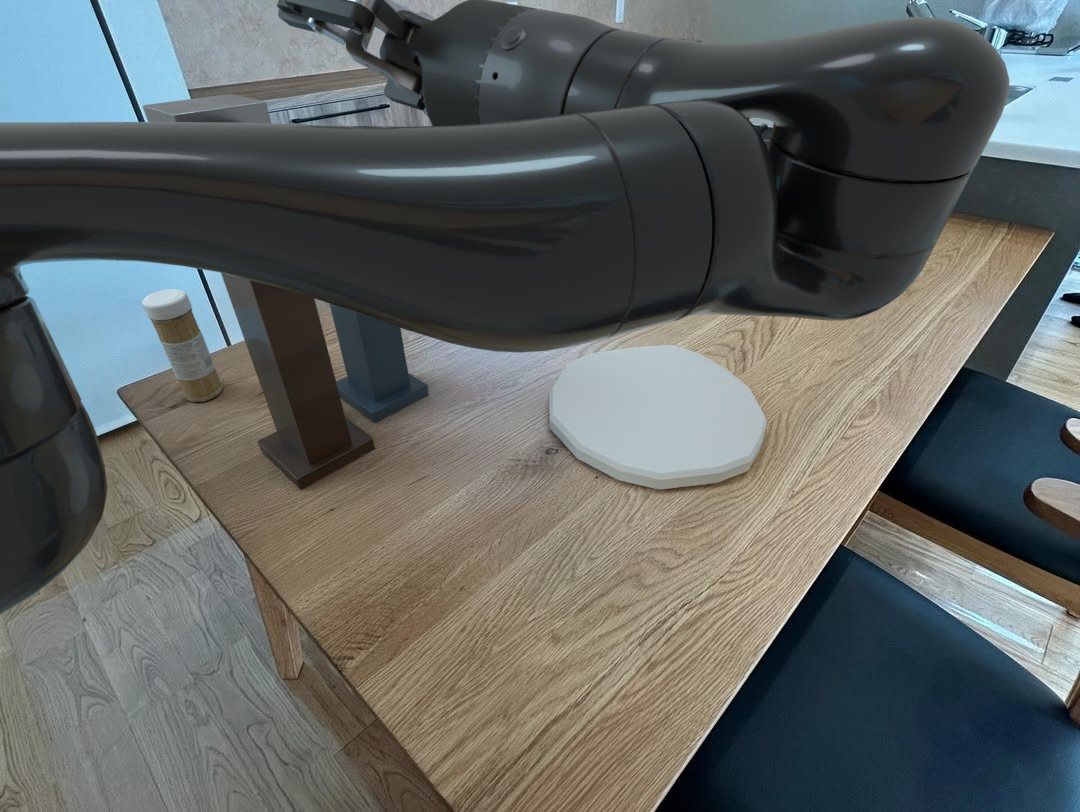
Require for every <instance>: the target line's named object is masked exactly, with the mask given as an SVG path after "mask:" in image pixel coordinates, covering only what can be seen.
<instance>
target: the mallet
mask: <svg viewBox="0 0 1080 812" xmlns="http://www.w3.org/2000/svg"><path fill="white" fill-rule="evenodd" d="M142 109H143V112H144V114H145V117H146V119H147V122H229V123H271V124H273V123H272V120H271V119H272V118H271V116H270V112H269V108H268V104H267V102H266V101H265V100H262V99H261V100H260V99H255V98H251V97H247V96H242V95H238V94H234V93H229V94H228V93H227V94H220V95H211V96H203V97H195V98H188V99H181V100H174V101H166V102H165V101H164V102H156V103H150V104H143V105H142Z"/></svg>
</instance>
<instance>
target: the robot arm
mask: <svg viewBox="0 0 1080 812" xmlns="http://www.w3.org/2000/svg"><path fill="white" fill-rule="evenodd" d="M276 7H277V9H278V12H277V15H278V16H277V17H278V18H279V19H280V20H281V21H283V22H284V23H286V24H287V25H288V26H290V27H291V28H296V29H300V30H305V31H309V32H312V33H316V34H318V35H319V36H320V35H321V36H322V35H323V36H325V37H327V38H328V39H331V40H333V41H335V42H337V43H339V44H341V45H343V46H344V47H345V50H346V51H347V53H348V54H349V56H350V57H351V59H352V60H353V61H354V62H355V63H357V64H359V65H361V66H363V67H365V68H367V69H369V70H371V71H373V72H374V73H377V74H379V75H381V76H383V77H385V78H387V82H386V84H385V86H384V90H383V94H384V96H385V97H386V98H388V99H389V100H390V101H392V102H394V103H397V104H399V105H403V106H406V107H409V108H413V109H415V110H419V111H422V113H424V115H425V116H426V117H427V118H428V119H429V121H430V123H431V125H427V126H426V125H422V126H418V125H417V126H381V125H379V126H375V125H373V126H372V125H369V126H367V125H366V126H365V125H331V124H329V125H328V124H300V123H272V122H271V123H272V124H271V123H229V122H148V121H42V122H41V121H39V122H36V121H32V122H31V121H27V122H25V121H23V122H21V121H20V122H19V121H17V122H16V121H15V122H13V121H12V122H8V121H7V122H3V121H2V122H0V615H2V614H4V613H6V612H7V611H8V610H10V609H12V608H14V607H16V606H17V605H19V604H21V603H23V602H24V601H26V600H27V599H29V598H31V597H33V596H35V594H36V593H38V592H39V591H41V590H42V589H44V588H45V587H46V586H47V585H49V584H50V583H51V582H53V581H54V580H55V579H56V578H57V577H58V576H59V575H60V574H62V573H63V572H64V571H65V570H66V569H67V568H68V567H69V566H70V564H71V563H72V562H73V561H74V560H75V559H76V558H77V557H78V556H79V554H81V552H82V551H83V550H84V549H85V548H86V547H87V545H88V544H89V542H90V541H91V539H92V537H93V535H94V534H95V532H96V529H97V528H98V526H99V525H100V523H101V520H102V519H103V515H104V510H105V507H106V500H107V496H108V483H107V482H108V481H107V474H106V473H107V472H106V466H105V462H104V456H103V453H102V449H101V445H100V441H99V439H98V434H97V431H96V429H95V427H94V425H93V422H92V420H91V417H90V415H89V412H88V411H87V409H86V407H85V405H84V404H83V402H82V398H81V395H80V393H79V392H78V390H77V387H76V385H75V382H74V380H73V378H72V376H71V375H70V372H69V370H68V368H67V366H66V364H65V361H64V360H63V357H62V355H61V354H60V353H61V352H60V351H59V348H58V346H57V345H56V343H55V340H54V339H53V336H52V334H51V332H50V330H49V328H48V326H47V324H46V322H45V319H44V317H43V315H42V313H41V311H40V309H39V307H38V305H37V303H36V301H35V298H32V297H31V296H28V295H29V294H30V288H29V286H28V283H27V282H26V280H25V278H24V276H23V273H22V271H21V267H22V266H26V265H31V264H40V263H59V262H81V261H84V262H85V261H109V262H141V263H150V264H151V263H152V264H158V265H159V264H161V265H169V266H178V267H179V266H180V267H185V268H186V267H187V268H192V269H198V270H204V271H209V272H215V273H220V274H221V273H224V274H228V275H232V276H236V277H239V278H243V279H247V280H251V281H255V282H259V283H263V284H266V285H270V286H274V287H278V288H282V289H286V290H289V291H293V292H296V293H299V294H302V295H305V296H308V297H311V298H314V299H315V300H318V301H321V302H324V303H327V304H329V303H330V304H333V305H336V306H339V307H342V308H345V309H349V310H351V311H354V312H357V313H360V314H363V315H366V316H368V317H371V318H374V319H377V320H380V321H383V322H385V323H388V324H391V325H394V326H397V327H400V328H401V329H403V330H406V331H410V332H413V333H415V334H419V335H423V336H424V337H425V336H426V337H429V338H433V339H436V340H438V341H442V342H445V343H448V344H451V345H452V344H453V345H457V346H462V347H466V348H470V349H476V350H483V351H488V352H489V351H490V352H497V353H499V352H500V353H501V352H502V353H520V354H521V353H533V352H534V353H537V352H549V351H554V350H560V349H565V348H570V347H577V346H581V345H586V344H589V343H594V342H598V341H601V340H602V341H603V340H604V339H608V338H612V337H616V336H620V335H624V334H627V333H631V332H636V331H640V330H644V329H647V328H652V327H656V326H659V325H664V324H667V323H671V322H672V323H673V322H676V321H680V320H683V319H686V318H690V317H694V316H703V315H709V316H710V315H713V316H714V315H715V316H716V315H717V316H718V315H719V316H738V317H739V316H743V317H745V316H746V317H781V318H795V319H806V320H816V321H827V322H829V321H830V322H836V321H837V322H839V321H840V322H841V321H842V322H843V321H844V322H845V321H849V320H855V319H860V318H863V317H866V316H869V315H871V314H873V313H875V312H877V311H879V310H881V309H883V308H884V307H886V306H887V305H889V304H891V303H892V302H894V301H895V300H896V299H898V298H899V297H900V296H901V295H902V294H904V293H905V292H906V291H907V290H908V289H909V288H910V287H911V286H912V284H913V283H914V282H915V281H916V279H918V277H919V276H920V274H921V273H922V271H923V269H924V268H925V266H926V264H927V262H928V260H929V258H930V257H931V254H932V253H933V250H934V248H935V247H936V245H937V243H938V240H939V239H940V236H941V235H942V232H943V230H944V228H945V226H946V224H947V223H948V221H949V219H950V217H951V215H952V213H953V211H954V209H955V207H956V205H957V203H958V201H959V199H960V197H961V195H962V194H963V191H964V189H965V187H966V186H967V184H968V182H969V179H970V177H971V176H972V174H973V171H974V169H975V167H977V164H978V162H979V160H980V158H981V156H982V155H983V153H984V151H985V149H986V147H987V145H988V143H989V141H990V140H991V137H992V136H993V133H994V131H995V130H996V127H997V125H998V124H999V122H1000V119H1001V117H1002V115H1003V113H1004V109H1005V107H1006V104H1007V101H1008V98H1009V95H1010V94H1009V93H1010V76H1009V72H1008V69H1007V66H1006V65H1007V64H1006V63H1005V61H1004V59H1003V58H1002V55H1001V54H1000V53H999V50H997V48H996V47H995V46H994V45H993V44H992V43H990V41H989V40H987V39H986V38H985V36H983V35H982V34H980V33H979V32H978V31H976V30H975V29H973V28H970V27H968V26H967V25H965V24H962V23H960V22H957V21H955V20H954V21H953V20H948V19H944V18H940V17H939V18H937V17H927V16H925V17H924V16H923V17H921V16H919V17H916V16H915V17H914V16H913V17H904V18H895V19H885V20H877V21H871V22H868V23H867V22H866V23H860V24H856V25H850V26H845V27H840V28H835V29H830V30H824V31H819V32H814V33H810V34H804V35H798V36H790V37H783V38H778V39H767V40H756V41H747V42H703V41H702V42H701V41H690V40H683V39H677V38H673V37H666V36H662V35H661V36H660V35H654V34H649V33H643V32H637V31H632V30H627V29H620V28H617V27H613V26H610V25H607V24H604V23H601V22H600V21H597V20H594V19H591V18H589V17H585V16H582V15H577V14H571V13H565V12H561V11H560V12H559V11H555V10H547V9H542V8H536V7H532V6H531V7H530V6H524V5H519V4H512V3H508V2H501V1H495V0H465V1H462V2H460V3H458V4H456V5H455V6H453V7H452V8H451V9H449V10H447V11H446V12H444V13H443V14H442V15H440V16H438V17H437V18H436V17H435V16H433V15H431V14H429V13H427V12H425V11H423V10H417V11H413V10H411V9H409V8H407V7H405V6H404V5H401V4H399V3H398V2H396V1H394V0H278V1H277V4H276ZM343 28H346V29H343ZM347 29H348V30H347ZM375 29H378V30H380V31H381V32H383V33H384V37H383V39H382V42H381V45H380V47H379V54H378V55H379V57H378V56H377V55H375V54H373V53H371V52H369V51H368V47H369V44H370V41H371V40H372V36H373V33H374V31H375ZM750 119H762V120H766V121H770V122H771V123H773V124H772V129H771V135H770V138H769V140H770V142H768V145H767V144H766V142H764V140H765V139H764V138H763V136H762V135H760V133H759V131H758V127H756V126H755V124H753V122H752V121H751V120H750ZM330 304H329V305H330Z"/></svg>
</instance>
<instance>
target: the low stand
mask: <svg viewBox="0 0 1080 812" xmlns="http://www.w3.org/2000/svg"><path fill="white" fill-rule="evenodd" d="M328 304H329V307H330V311H331V315H332V319H333V325H334V327H335V332H336V336H337V340H338V344H339V348H340V353H341V357H342V361H343V365H344V368H345V372H346V376H345V377H344V378H341V379H339V380H336V383H337V387H338V391H339V395H340V399H341V400H343V401H344V402H346V403H347V404H349V405H350V406H351V407H352V408H353V409H355V410H356V411H358V412H359V413H361V415H363V416H364V417H366V418H367V419H368V420H370V421H371V422H373V423H375V424H376V423H377V422H379V421H381V420H383V419H385V418H387V417H388V416H391V415H393V414H395V413H397V412H398V411H400V410H402V409H403V408H406V407H408V406H409V405H412V404H414V403H415V402H418V401H420V400H421V399H423V398H425V397H426V396H428V395H430V393H429V387H428V384H426V383H425V382H423V381H422V380H420V379H418V378H417V377H416V376H413V375H412V374H410V373H409V370H408V364H407V358H406V352H405V347H404V346H405V345H404V340H403V335H402V328H400V327H397V326H394V325H391V324H388V323H385V322H383V321H380V320H377V319H374V318H371V317H368V316H366V315H363V314H360V313H357V312H354V311H351V310H349V309H345V308H342V307H339V306H336V305H333V304H330V303H328Z"/></svg>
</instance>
